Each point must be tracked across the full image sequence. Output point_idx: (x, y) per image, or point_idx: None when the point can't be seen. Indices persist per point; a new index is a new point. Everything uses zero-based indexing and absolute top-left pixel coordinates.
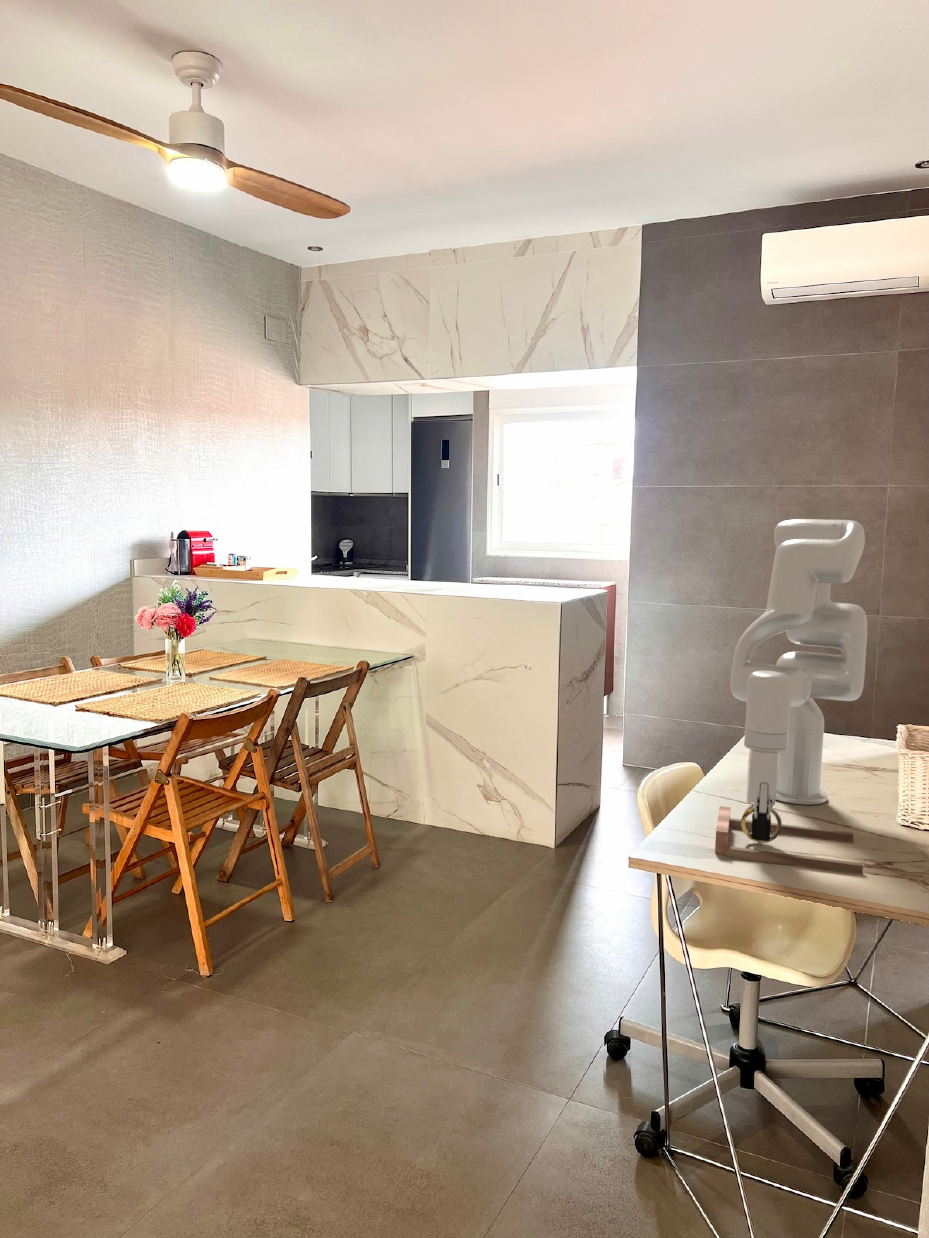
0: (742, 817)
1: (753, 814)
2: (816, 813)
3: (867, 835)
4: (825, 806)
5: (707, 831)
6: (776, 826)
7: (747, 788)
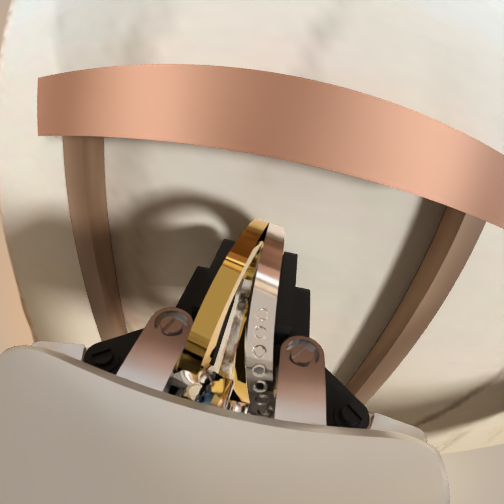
0: (230, 251)
1: (274, 326)
2: (479, 403)
3: None
4: (498, 410)
5: (396, 59)
6: (386, 349)
7: (15, 453)
